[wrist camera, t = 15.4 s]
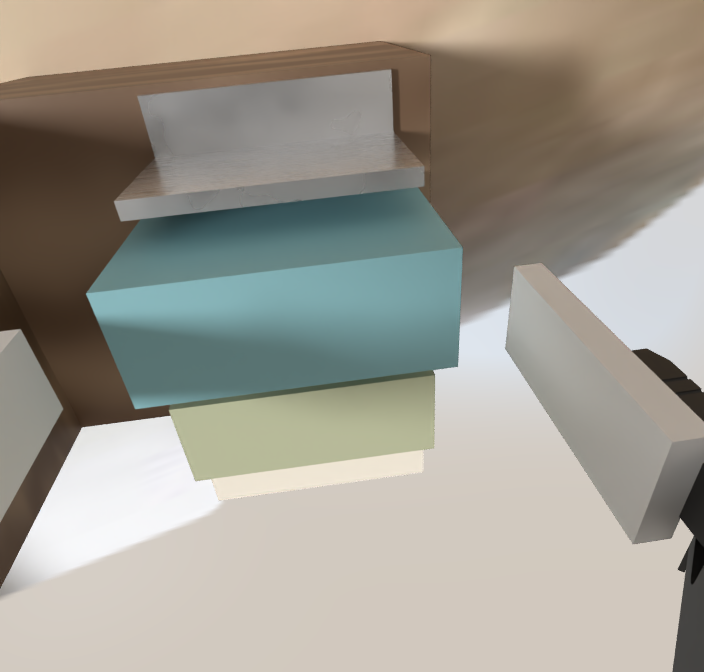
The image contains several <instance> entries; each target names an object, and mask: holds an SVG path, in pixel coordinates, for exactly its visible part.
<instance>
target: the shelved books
mask: <svg viewBox="0 0 704 672" xmlns="http://www.w3.org/2000/svg"><path fill="white" fill-rule="evenodd" d="M169 412H170V415H171V418H172V420H173V423H174V426H175V428H176V431H177V434H178V436H179V439H180V441H181V444H182V447H183V449H184V452H185V455H186V457H187V460H188V463H189V465H190V468H191V471H192V473H193V476H194V479H195V481H200V480H207V479H211V480H212V483H213V485H214V488H215V491H216V494H217V497H218V500H219V501H220V500H227V499H235V498H242V497H249V496H256V495H263V494H270V493H278V492H285V491H292V490H299V489H306V488H313V487H320V486H328V485H334V484H342V483H349V482H356V481H364V480H370V479H378V478H385V477H392V476H399V475H405V474H413V473H420V472H423V450H425V449H432V448H434V420H435V417H434V416H435V374H434V372H433V370H429V371H421V372H414V373H406V374H398V375H391V376H383V377H376V378H368V379H361V380H353V381H345V382H338V383H330V384H323V385H315V386H307V387H300V388H292V389H285V390H277V391H270V392H262V393H254V394H247V395H239V396H232V397H224V398H217V399H209V400H201V401H194V402H186V403H179V404H171V405H170V407H169Z"/></svg>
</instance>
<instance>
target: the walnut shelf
mask: <svg viewBox="0 0 704 672" xmlns="http://www.w3.org/2000/svg"><path fill="white" fill-rule="evenodd" d="M383 69H391V75H392V103H393V131H394V133H395V134H396V135H397V136H398V137H399V138H400V139H401V141H402V142H403V143H404V144H405V145H406V146H407V147H408V148H409V150H410V151H411V152H412V153H413V154H414V155H415V156H416V157H417V159H418V160H419V161H420V162H421V163H422V164H423V165H424V187H418V188H419V190H420V191H421V192H422V194H423V195H424V196H425V198H426V199H427V200H428V202H429V203H430V115H431V55H428V54H425V53H421V52H418V51H414V50H410V49H407V48H403V47H400V46H396V45H392V44H389V43H385V42H382V41H377V42H367V43H357V44H347V45H338V46H328V47H318V48H308V49H298V50H289V51H279V52H269V53H259V54H250V55H240V56H230V57H220V58H210V59H201V60H191V61H181V62H171V63H162V64H152V65H142V66H132V67H122V68H113V69H103V70H93V71H83V72H74V73H64V74H54V75H44V76H34V77H26V78H22V79H17V80H13V81H9V82H4V83H0V332H1V331H8V330H16V329H21V331H22V333H23V335H24V336H25V338H26V340H27V342H28V344H29V346H30V348H31V349H32V351H33V353H34V355H35V357H36V359H37V361H38V362H39V364H40V366H41V368H42V370H43V372H44V374H45V375H46V377H47V379H48V381H49V383H50V385H51V387H52V388H53V390H54V392H55V394H56V396H57V398H58V400H59V402H60V403H61V405H62V407H63V410H62V412H61V414H60V416H59V417H58V419H57V421H56V423H55V425H54V426H53V428H52V430H51V432H50V434H49V435H48V437H47V439H46V441H45V443H44V444H43V446H42V448H41V450H40V452H39V453H38V455H37V457H36V459H35V461H34V462H33V464H32V466H31V468H30V470H29V471H28V473H27V475H26V477H25V479H24V481H23V482H22V484H21V486H20V488H19V490H18V491H17V493H16V495H15V497H14V499H13V500H12V502H11V504H10V506H9V508H8V509H7V511H6V513H5V515H4V517H3V518H2V520H1V522H0V588H1V586H2V584H3V582H4V580H5V578H6V576H7V574H8V572H9V570H10V568H11V566H12V564H13V562H14V560H15V559H16V557H17V555H18V553H19V551H20V549H21V547H22V545H23V543H24V541H25V539H26V537H27V535H28V533H29V531H30V529H31V527H32V525H33V523H34V521H35V519H36V517H37V515H38V513H39V511H40V509H41V507H42V505H43V503H44V501H45V499H46V497H47V495H48V493H49V491H50V489H51V487H52V485H53V483H54V481H55V480H56V478H57V476H58V474H59V472H60V470H61V468H62V466H63V464H64V462H65V460H66V458H67V456H68V454H69V452H70V450H71V448H72V446H73V444H74V442H75V440H76V438H77V436H78V434H79V432H80V430H81V428H82V427H88V426H95V425H103V424H111V423H118V422H126V421H133V420H141V419H148V418H156V417H164V416H171V415H170V412H169V407H170V405H164V406H156V407H148V408H141V409H135V407H134V405H133V403H132V400H131V398H130V396H129V393H128V391H127V389H126V386H125V384H124V382H123V379H122V377H121V375H120V372H119V370H118V368H117V365H116V363H115V360H114V358H113V356H112V353H111V351H110V349H109V346H108V344H107V342H106V339H105V337H104V335H103V332H102V330H101V328H100V325H99V323H98V321H97V318H96V316H95V314H94V311H93V309H92V307H91V304H90V302H89V300H88V297H87V295H86V293H87V291H88V290H89V289H90V287H91V286H92V285H93V283H94V282H95V281H96V279H97V278H98V276H99V275H100V274H101V272H102V271H103V270H104V268H105V267H106V266H107V264H108V263H109V262H110V260H111V259H112V257H113V256H114V255H115V253H116V252H117V251H118V249H119V248H120V247H121V245H122V244H123V242H124V241H125V240H126V238H127V237H128V236H129V234H130V233H131V232H132V230H133V229H134V228H135V226H136V225H137V223H138V222H139V221H140V219H138V220H130V221H121V220H120V218H119V215H118V212H117V209H116V206H115V203H114V201H115V200H116V199H117V197H118V196H119V195H120V194H121V193H122V192H123V191H124V190H125V189H126V188H127V187H128V186H129V185H130V184H131V183H132V182H133V181H134V180H135V179H136V178H137V176H138V175H139V174H140V173H141V172H142V171H143V170H144V169H145V168H146V167H147V166H148V165H149V164H150V163H151V162H152V161H153V160H154V159H155V156H154V152H153V149H152V145H151V142H150V139H149V135H148V132H147V128H146V125H145V121H144V118H143V114H142V111H141V108H140V104H139V101H138V97H137V96H139V95H145V94H154V93H164V92H173V91H183V90H192V89H202V88H211V87H221V86H231V85H240V84H250V83H259V82H269V81H278V80H288V79H297V78H307V77H316V76H326V75H336V74H345V73H355V72H364V71H374V70H383Z"/></svg>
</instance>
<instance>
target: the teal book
mask: <svg viewBox="0 0 704 672" xmlns="http://www.w3.org/2000/svg"><path fill="white" fill-rule="evenodd" d="M462 255H463V247H462V246H461V244H460V243H459V242H458V240H457V239H456V238H455V236H454V235H453V234H452V232H451V231H450V230H449V228H448V227H447V226H446V224H445V223H444V222H443V220H442V219H441V218H440V216H439V215H438V214H437V212H436V211H435V210H434V208H433V207H432V206H431V204H430V203H429V202H428V200H427V199H426V198H425V196H424V195H423V194H422V192H421V191H420V190H419V188H418V187H416V188H408V189H399V190H390V191H381V192H373V193H364V194H355V195H347V196H338V197H329V198H321V199H312V200H303V201H295V202H286V203H277V204H269V205H260V206H251V207H242V208H234V209H225V210H216V211H208V212H199V213H190V214H182V215H173V216H164V217H156V218H147V219H140V221H139V222H138V223H137V225H136V226H135V228H134V229H133V230H132V232H131V233H130V234H129V236H128V237H127V238H126V240H125V241H124V242H123V244H122V245H121V247H120V248H119V249H118V251H117V252H116V253H115V255H114V256H113V257H112V259H111V260H110V262H109V263H108V264H107V266H106V267H105V268H104V270H103V271H102V272H101V274H100V275H99V276H98V278H97V279H96V281H95V282H94V283H93V285H92V286H91V287H90V289H89V290H88V291H87V293H86V295H87V297H88V300H89V302H90V304H91V307H92V309H93V311H94V314H95V316H96V318H97V321H98V323H99V325H100V328H101V330H102V332H103V335H104V337H105V339H106V342H107V344H108V346H109V349H110V351H111V353H112V356H113V358H114V360H115V363H116V365H117V368H118V370H119V372H120V375H121V377H122V379H123V382H124V384H125V386H126V389H127V391H128V393H129V396H130V398H131V400H132V403H133V405H134V407H135V409H141V408H148V407H156V406H164V405H171V404H179V403H186V402H194V401H201V400H209V399H217V398H224V397H232V396H239V395H247V394H254V393H262V392H270V391H277V390H285V389H292V388H300V387H307V386H315V385H323V384H330V383H338V382H345V381H353V380H361V379H368V378H376V377H383V376H391V375H398V374H406V373H414V372H421V371H429V370H436V369H444V368H451V367H458V353H459V330H460V305H461V280H462Z"/></svg>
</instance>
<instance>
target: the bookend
mask: <svg viewBox="0 0 704 672" xmlns="http://www.w3.org/2000/svg"><path fill="white" fill-rule="evenodd" d="M137 97H138V101H139V104H140V108H141V111H142V114H143V118H144V121H145V125H146V128H147V132H148V135H149V139H150V142H151V145H152V149H153V152H154V156H155V159H154V160H153V161H152V162H151V163H150V164H149V165H148V166H147V167H146V168H145V169H144V170H143V171H142V172H141V173H140V174H139V175H138V176H137V178H136V179H135V180H134V181H133V182H132V183H131V184H130V185H129V186H128V187H127V188H126V189H125V190H124V191H123V192H122V193H121V194H120V195H119V196H118V197H117V199H116V200H115V201H114V203H115V206H116V209H117V212H118V215H119V218H120V220H121V221H130V220H138V219H147V218H156V217H164V216H173V215H182V214H190V213H199V212H208V211H216V210H225V209H234V208H242V207H251V206H260V205H269V204H277V203H286V202H295V201H303V200H312V199H321V198H329V197H338V196H347V195H355V194H364V193H373V192H381V191H390V190H399V189H408V188H416V187H424V165H423V164H422V163H421V162H420V161H419V160H418V159H417V157H416V156H415V155H414V154H413V153H412V152H411V151H410V150H409V148H408V147H407V146H406V145H405V144H404V143H403V142H402V141H401V139H400V138H399V137H398V136H397V135H396V134H395V133H394V131H393V103H392V75H391V69H383V70H374V71H364V72H355V73H345V74H336V75H326V76H316V77H307V78H297V79H288V80H278V81H269V82H259V83H250V84H240V85H231V86H221V87H211V88H202V89H192V90H183V91H173V92H164V93H154V94H145V95H139V96H137Z"/></svg>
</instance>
